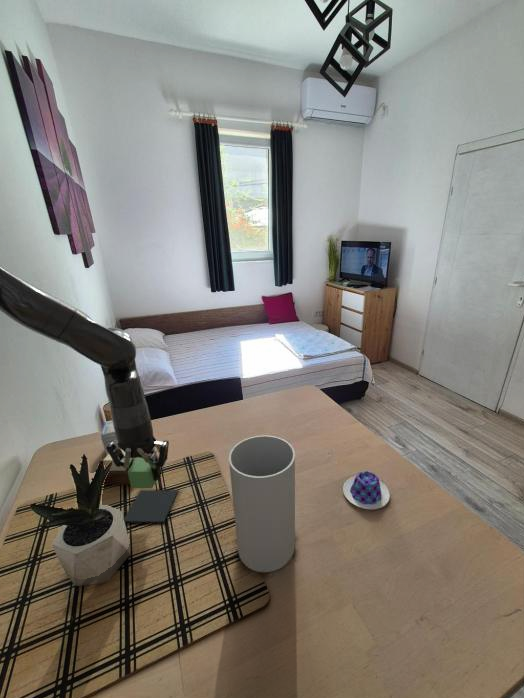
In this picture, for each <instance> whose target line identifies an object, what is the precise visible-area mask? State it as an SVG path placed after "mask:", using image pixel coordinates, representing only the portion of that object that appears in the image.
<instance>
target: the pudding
mask: <svg viewBox="0 0 524 698" xmlns="http://www.w3.org/2000/svg"><path fill="white" fill-rule="evenodd" d="M342 493H343V495H344V496H345V498H346V500H348V502H349V503H351V504H352V505H354V506H356V507H358V508H360V509H365V510H378V509H380V508H383V507H385V506H386V505H387V504H388V502H389V501H390V499H391V498H390V497H391V495H390V494H391V493H390V490H389V488H388V487H387V485H386V484H385V483H384V482H382V481H381V480H380V479H379V477H378V476H377V475H376V474H375V473H374V472H371V471H370V472H369V471H368V470H364V471H359V472H358V473H357V474H356V475H355V476H351V477H349V478H348V479H346V481H344V483H343V486H342Z"/></svg>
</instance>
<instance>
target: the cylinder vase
mask: <svg viewBox="0 0 524 698" xmlns="http://www.w3.org/2000/svg"><path fill="white" fill-rule="evenodd" d="M228 464H229V473H230V474H229V475H230V483H231V495H232V504H233V505H232V506H233V515H234V524H235V535H236V546H237V553H238V557H239V559H240V561H241V562H242V563H243V564H244V566H246V567H247V568H248V569H249V570H252V571H254V572H258V573H271V572H276V571H278V570H280V569H281V568H283V567H285V565H286V564H288V563H289V562H290V560H291V559H292V558H293V555H294V552H295V547H296V452H295V449H294V446H292V444H291V443H290V442H288V441H287V440H286V439H284V438H281V437H279V436H275V435H267V434H266V435H263V434H262V435H255V436H250V437H248V438H244V439H242V440H241V441H239V442H237V444H235V445H234V446H233V447H232V449H231V450H230V452H229V455H228Z"/></svg>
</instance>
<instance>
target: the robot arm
mask: <svg viewBox="0 0 524 698" xmlns="http://www.w3.org/2000/svg"><path fill="white" fill-rule="evenodd" d="M0 312H2V313H3V314H4V315H5V316H7V317H8V318H10V319H11V320H13V321H14V322H15V323H17V324H19V325H20V326H22V327H24V328H26V329H28V330H30V331H32V332H33V333H36V334H39V335H41V336H44V337H46V338H48V339H50V340H52V341H55V342H57V343H59V344H62V345H64V346H66V347H69V348H70V349H72V350H73V351H75V352H76V353H78V354H79V355H81V356H83V357H84V358H86V359H88V360H90V361H91V362H93V363H95V364H96V365H99V366H100V368H101V372H102V374H103V378H104V388H105V393H106V397H107V400H108V401H107V402H108V404H109V413H110V418H111V421H112V422H113V426H114V430H115V433H116V437H117V440H118V441H117V442H116V441H115V440H112V441H111V442H110V444H109V445H108V446H107V447H106V449H107V451H108V453H109V454H110V456H111V458H112V460H113V461H114V463H115V465H116V466H117V467H120V466H123V467H124V468H125V469H126V472H127V471H128V470H129V469H130V467H131V466H132V464H133V461H134V458H137V457H140V458H143V459H144V460H145V462H146V463H149V465H150V466H151V468H152V469H151V470H152V474H153V479H154V481H156V482H157V481H158V480H159V479H160V478H161V476H162V468H163V467H164V466H165V464H166V462H167V460H168V457H169V456H168V453H169V445H170V441H169V440H167V439H165V440H163V441H159V440H157V439H156V438H155V436H154V429H153V423H152V419H151V413H150V409H149V404H148V402H147V400H146V396H145V390H144V386H143V382H142V379H141V377H140V374H139V372H138V368H137V363H136V358H137V347H136V345H135V343H134V342H133V339H132V337H131V335H129V333H128V332H126V331H125V330H123V329H121V328H119V327H106V326H104V325H102V324H100V323H98V322H96V321H94V320H93V319H92V318H91V317H90V316H89V315H88V314H87V313H85V312H83V311H82V310H81V309H79V308H76V307H75V306H73V305H71V304H69V303H67V302H65V301H64V300H62V299H59V298H57V297H56V296H53V295H51V294H50V293H47V292H46V291H44V290H42V289H40V288H38V287H36V286H35V285H33V284H30V283H29V282H27V281H25V280H24V279H22V278H20V277H18V276H17V275H15V274H13V273H11V272H10V271H8V270H7V269H6V268H3V267H1V266H0ZM120 448H121V449H122V450H123V451H124V452H125V456H124V454H123V452H122V451H121V449H120ZM155 448H156V449H157V450H156V449H155ZM157 453H158V455H157ZM118 457H119V458H118ZM127 476H128V472H127ZM128 478H129V476H128Z"/></svg>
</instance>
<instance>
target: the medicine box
mask: <svg viewBox="0 0 524 698" xmlns="http://www.w3.org/2000/svg"><path fill="white" fill-rule="evenodd" d="M100 438H101V442H102V445H103V449H104V452H105V455H106V456H107V455H108V454H109V453H108V451H107V449H106V447H107V446H108V445H109V444H110V442H111V441H112V440H115V441H116V442H117V441H118V440H117V437H116V433H115V430H114V426H113V422H112V420H108V421H104V422H103V425H102V430H101V433H100Z"/></svg>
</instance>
